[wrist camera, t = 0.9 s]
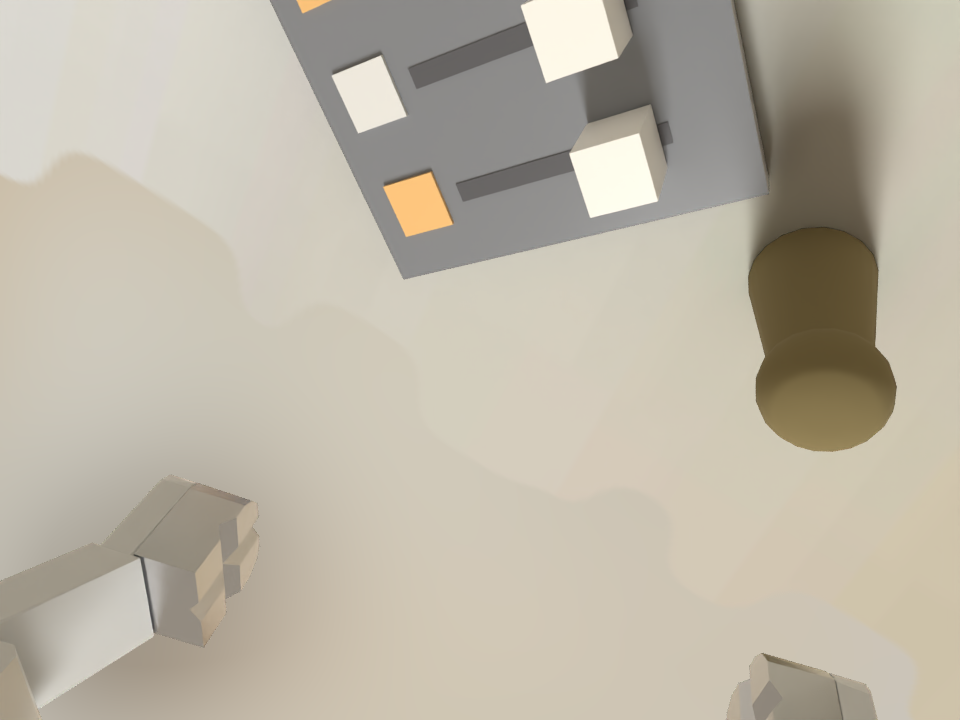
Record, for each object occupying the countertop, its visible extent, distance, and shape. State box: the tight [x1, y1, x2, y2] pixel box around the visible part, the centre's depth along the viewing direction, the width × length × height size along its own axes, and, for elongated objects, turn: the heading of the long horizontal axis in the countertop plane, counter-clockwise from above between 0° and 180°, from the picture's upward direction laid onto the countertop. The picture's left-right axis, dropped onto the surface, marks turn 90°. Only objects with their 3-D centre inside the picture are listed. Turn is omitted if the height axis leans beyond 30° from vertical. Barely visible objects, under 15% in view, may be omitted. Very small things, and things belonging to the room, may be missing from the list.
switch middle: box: [521, 0, 633, 83], centre depth 29 cm, size 3×3×4 cm
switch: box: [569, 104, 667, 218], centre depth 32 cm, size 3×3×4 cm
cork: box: [748, 227, 897, 452], centre depth 32 cm, size 6×6×11 cm
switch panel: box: [270, 0, 769, 279], centre depth 33 cm, size 20×20×2 cm
